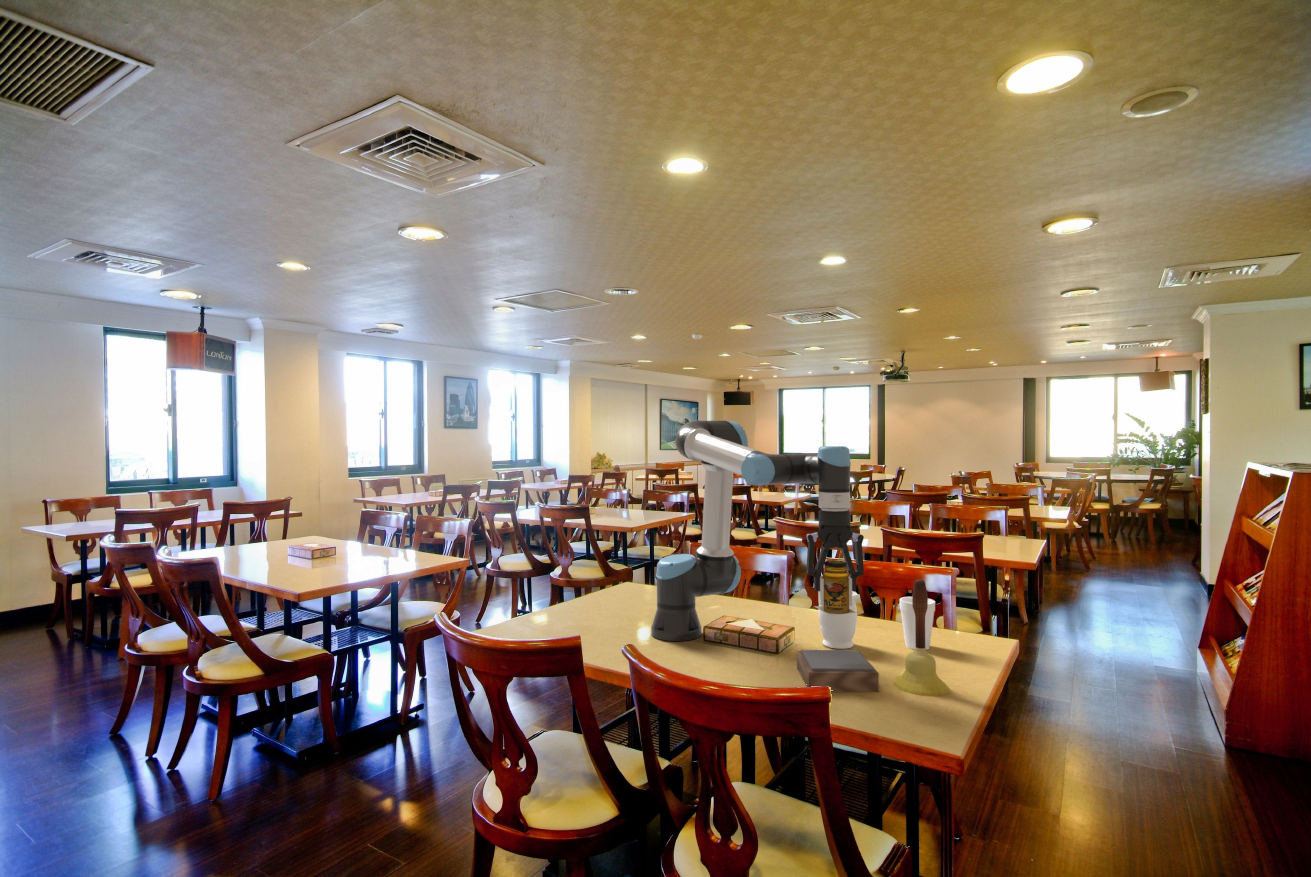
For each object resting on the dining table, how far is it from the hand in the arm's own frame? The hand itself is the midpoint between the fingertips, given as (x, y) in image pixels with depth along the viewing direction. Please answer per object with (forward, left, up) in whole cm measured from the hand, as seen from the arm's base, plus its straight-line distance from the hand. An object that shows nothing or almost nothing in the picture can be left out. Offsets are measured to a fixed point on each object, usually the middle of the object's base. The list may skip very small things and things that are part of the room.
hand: (835, 604), depth 164 cm
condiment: (0, 0, -2) cm, 2 cm away
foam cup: (+29, +27, -19) cm, 44 cm away
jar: (+7, +28, -19) cm, 34 cm away
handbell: (+19, -4, -19) cm, 27 cm away
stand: (0, 0, -18) cm, 18 cm away
